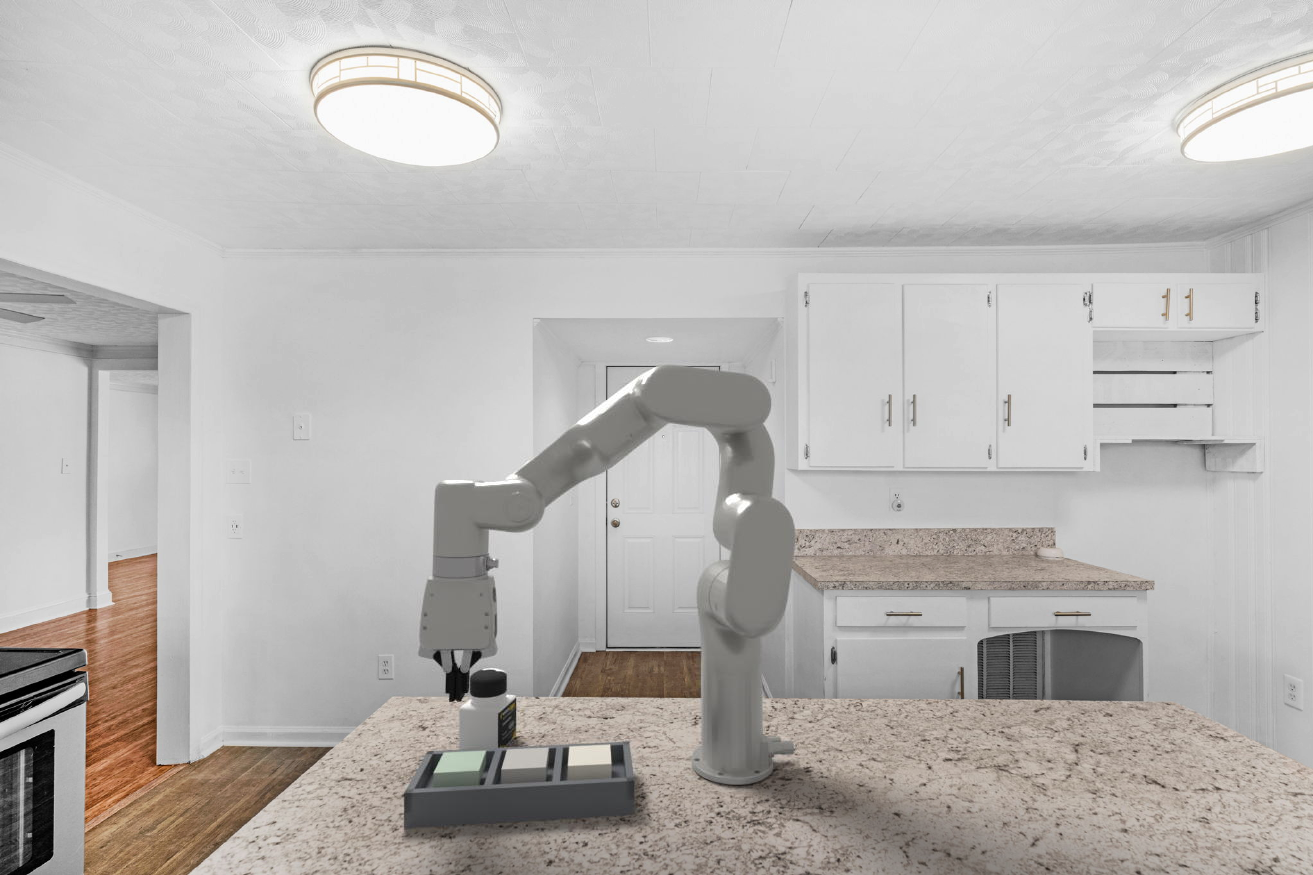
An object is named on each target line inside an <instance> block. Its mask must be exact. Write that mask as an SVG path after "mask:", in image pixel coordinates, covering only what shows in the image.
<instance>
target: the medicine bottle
mask: <svg viewBox="0 0 1313 875" xmlns="http://www.w3.org/2000/svg"><path fill="white" fill-rule="evenodd" d="M507 691H508V673H507V672H506V671H504V670H503V669H500V668H491V667H490V668H488V667H487V668H483V669H479V670H477V671H475V672H473V673H472V674H471V675H470V679H469V700H468V701H466V702H465V703H464V704H463V705H461V706H460V707H459V708H458V709H459V710H458V711H459V712H458V722H459V723H458V733H459V734H458V750H463V749H483V748H504V747H508V745H509V744H510V743H511V742H512V741H513V740H514V739H515V737H517V695H514V694H508V692H507Z"/></svg>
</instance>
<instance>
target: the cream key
mask: <svg viewBox="0 0 1313 875" xmlns="http://www.w3.org/2000/svg"><path fill="white" fill-rule="evenodd" d="M607 778H611V750H610V745H590V746H569V757H568V781H570V780H589V779H607Z"/></svg>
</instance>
